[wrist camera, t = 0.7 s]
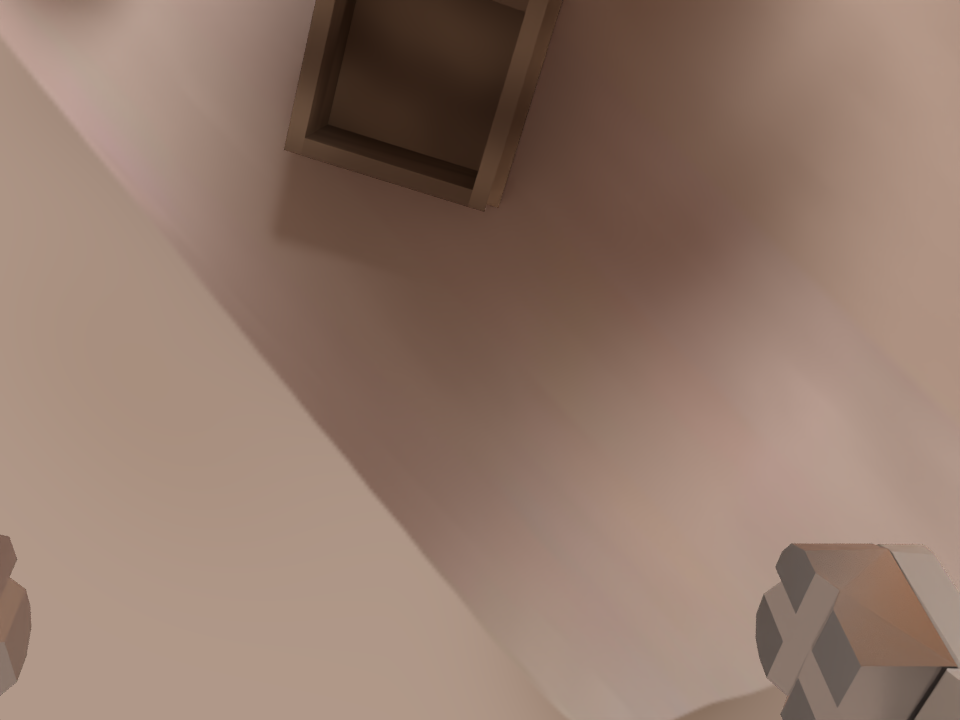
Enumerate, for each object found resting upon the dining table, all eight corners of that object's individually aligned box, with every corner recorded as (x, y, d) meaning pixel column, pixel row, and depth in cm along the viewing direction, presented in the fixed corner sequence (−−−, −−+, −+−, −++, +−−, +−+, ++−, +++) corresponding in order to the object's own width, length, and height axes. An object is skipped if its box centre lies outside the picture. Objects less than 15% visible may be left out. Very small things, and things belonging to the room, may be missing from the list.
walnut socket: (346, -83, 43) (318, -96, 38) (565, -12, 44) (570, -14, 38) (297, 141, 47) (266, 160, 42) (498, 203, 48) (494, 230, 42)
